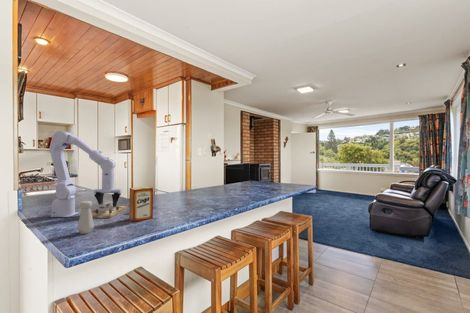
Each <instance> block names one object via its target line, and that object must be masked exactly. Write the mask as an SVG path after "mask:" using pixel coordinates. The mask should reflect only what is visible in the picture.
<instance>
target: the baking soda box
mask: <svg viewBox="0 0 470 313" xmlns="http://www.w3.org/2000/svg"><path fill="white" fill-rule="evenodd" d="M128 201H129V203H128V204H129V206H128V207H129V208H128V209H129V214H128V215H129V218H128V219H129V220H130V221H131V222H132V223H133V222H141V221H146V220H151V219H153V218H154V216H153V214H154V188H153V187H151V186H140V187H139V186H138V187H130V188H129V200H128Z"/></svg>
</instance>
